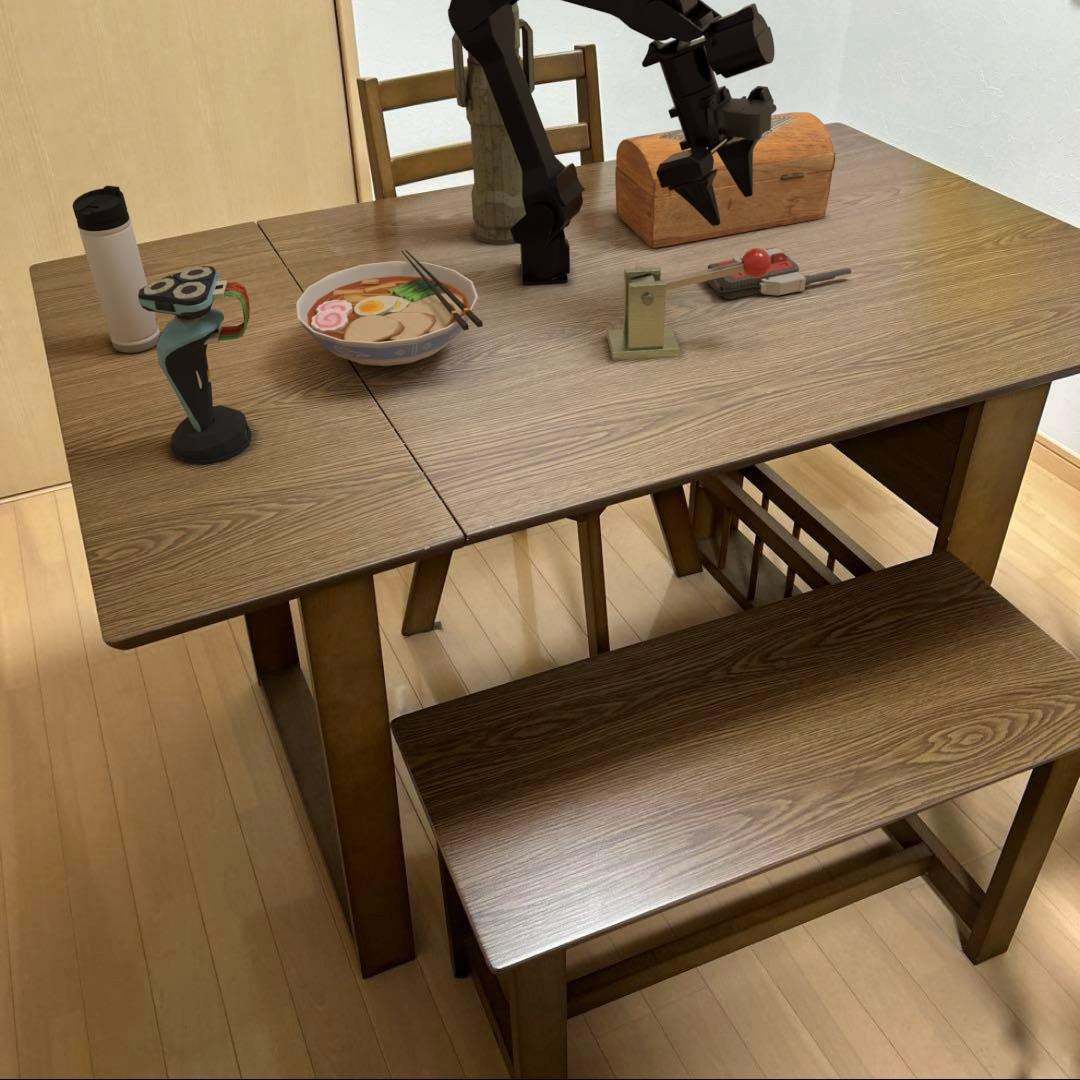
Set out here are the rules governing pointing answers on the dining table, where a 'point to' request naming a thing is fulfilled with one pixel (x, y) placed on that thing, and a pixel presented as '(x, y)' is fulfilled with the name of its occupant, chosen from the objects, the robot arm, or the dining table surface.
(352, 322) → the ramen bowl
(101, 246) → the travel mug
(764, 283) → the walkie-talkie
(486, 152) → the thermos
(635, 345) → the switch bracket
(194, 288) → the electric shaver
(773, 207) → the wooden box
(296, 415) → the dining table surface
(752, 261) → the switch lever
